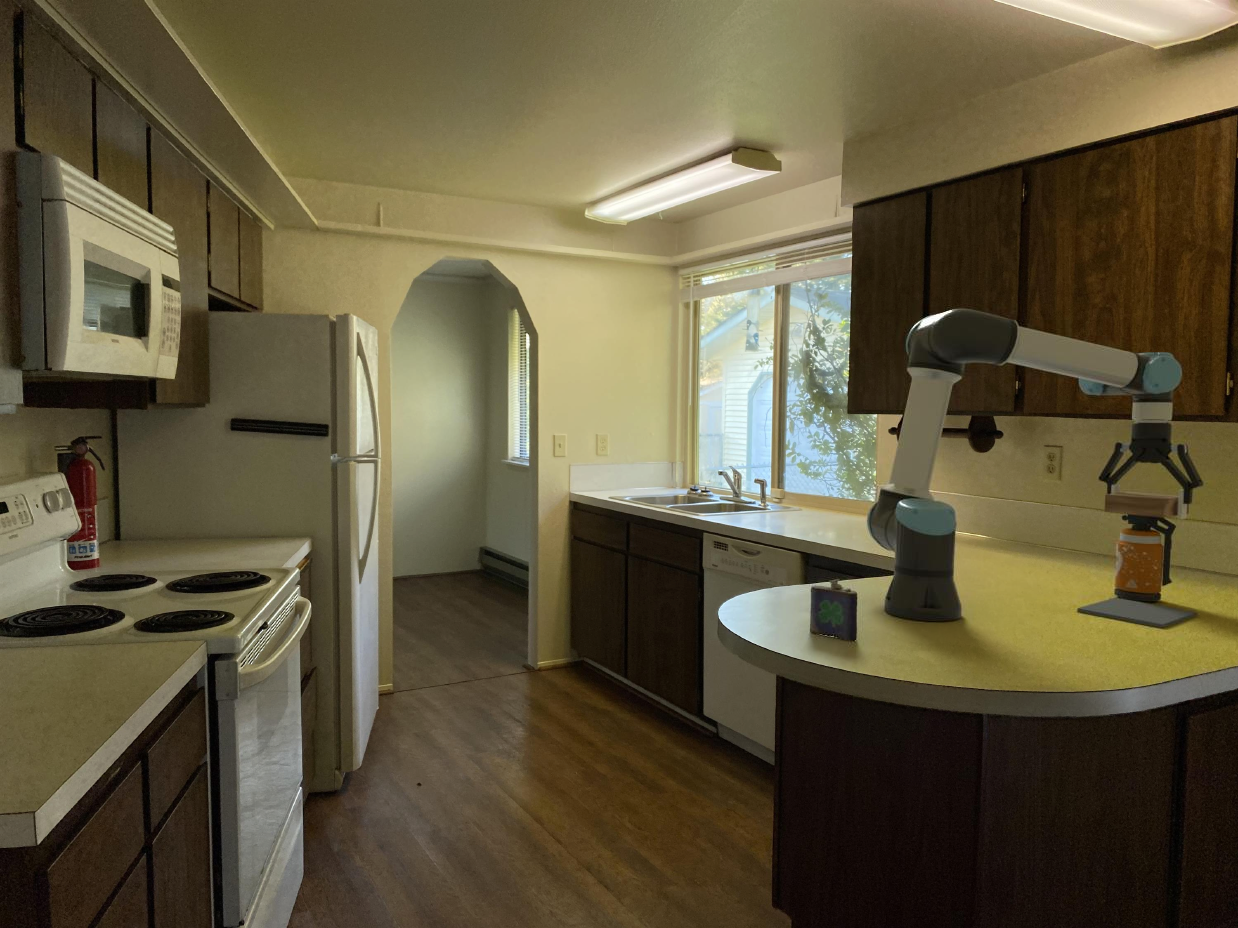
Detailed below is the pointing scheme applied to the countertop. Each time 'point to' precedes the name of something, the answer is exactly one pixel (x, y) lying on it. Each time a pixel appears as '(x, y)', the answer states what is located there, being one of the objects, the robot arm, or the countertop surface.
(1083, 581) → the countertop surface
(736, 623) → the countertop surface
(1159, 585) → the canister
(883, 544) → the robot arm
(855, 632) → the flask
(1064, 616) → the countertop surface
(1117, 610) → the mat
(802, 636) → the countertop surface
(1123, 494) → the wooden block
